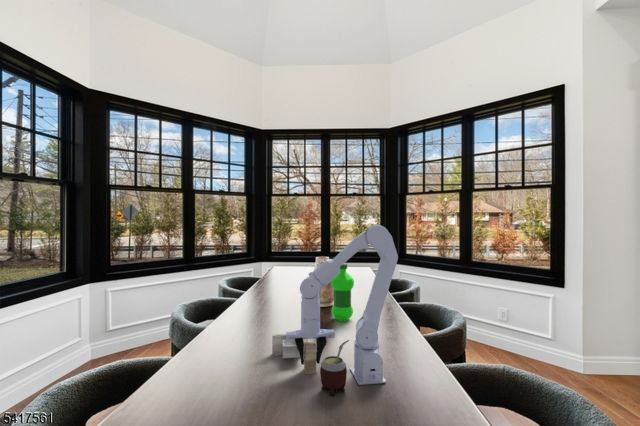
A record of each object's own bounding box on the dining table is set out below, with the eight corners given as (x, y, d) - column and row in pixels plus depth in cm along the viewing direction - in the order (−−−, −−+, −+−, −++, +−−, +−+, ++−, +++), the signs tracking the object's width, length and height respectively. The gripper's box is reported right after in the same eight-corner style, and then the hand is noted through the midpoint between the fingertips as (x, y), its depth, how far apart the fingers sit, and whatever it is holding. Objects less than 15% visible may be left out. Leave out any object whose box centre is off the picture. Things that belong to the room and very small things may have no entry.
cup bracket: (310, 362, 101) (311, 342, 101) (272, 365, 99) (272, 344, 99) (307, 351, 109) (307, 332, 109) (272, 353, 107) (272, 334, 107)
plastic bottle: (329, 316, 149) (330, 262, 150) (352, 316, 150) (352, 262, 150) (331, 323, 139) (331, 265, 140) (355, 323, 140) (355, 265, 140)
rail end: (316, 373, 94) (316, 345, 94) (305, 373, 94) (305, 346, 94) (314, 368, 97) (314, 341, 97) (304, 368, 97) (304, 342, 97)
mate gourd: (322, 382, 89) (322, 328, 89) (350, 385, 88) (351, 330, 88) (317, 397, 81) (318, 338, 82) (348, 400, 80) (349, 340, 80)
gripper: (331, 312, 101) (331, 355, 101) (285, 314, 98) (285, 358, 98) (336, 319, 94) (335, 365, 94) (287, 321, 92) (286, 369, 91)
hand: (310, 362), depth 96 cm, fingers open, 4 cm apart
